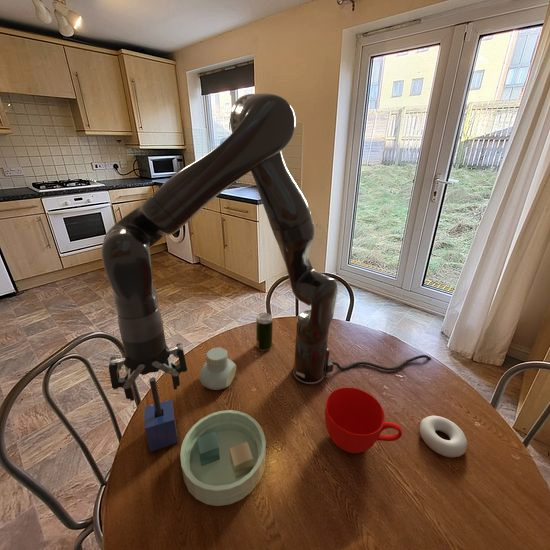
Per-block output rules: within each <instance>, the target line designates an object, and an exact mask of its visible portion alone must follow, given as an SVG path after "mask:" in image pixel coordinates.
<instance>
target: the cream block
mask: <svg viewBox="0 0 550 550" xmlns="http://www.w3.org/2000/svg"><path fill="white" fill-rule="evenodd" d="M229 450H230V462H231V465H232V469H233V472H234V476H235V478H236V477H239V476H241V475H244V474H246V473H249V472H250V471H251V470H252V469H253V457H252V454H251V451H250V448H249V445H248V442H246V443H243V444H240V445H238V446H235V447H232V448H230V449H229Z"/></svg>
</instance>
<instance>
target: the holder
mask: <svg viewBox="0 0 550 550" xmlns="http://www.w3.org/2000/svg"><path fill="white" fill-rule="evenodd" d="M160 405H161V411H162V416H160V417H157V416H156V411H155V406H154V404H151V405H147V406H144V411H143V412H144V432H145V436H146V440H147V444H148V448H149V452H150V453H151V452H154V451H158V450H159V449H163V448H166V447H169V446H171V445H175V444H178V443H179V438H178V430H177V421H176V416H175V410H174V404H173V399H168V400H165V401H164V400H163V401H162V402H161V401H160Z"/></svg>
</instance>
